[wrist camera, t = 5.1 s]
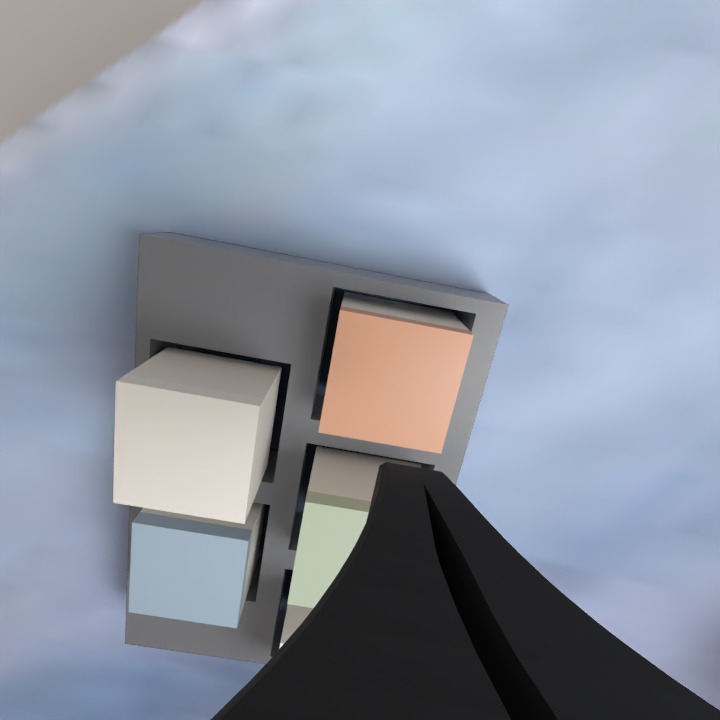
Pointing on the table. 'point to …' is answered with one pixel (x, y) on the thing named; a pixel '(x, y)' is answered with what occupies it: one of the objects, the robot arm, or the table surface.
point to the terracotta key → (394, 373)
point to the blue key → (193, 565)
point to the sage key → (332, 519)
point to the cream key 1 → (193, 433)
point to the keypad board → (303, 406)
